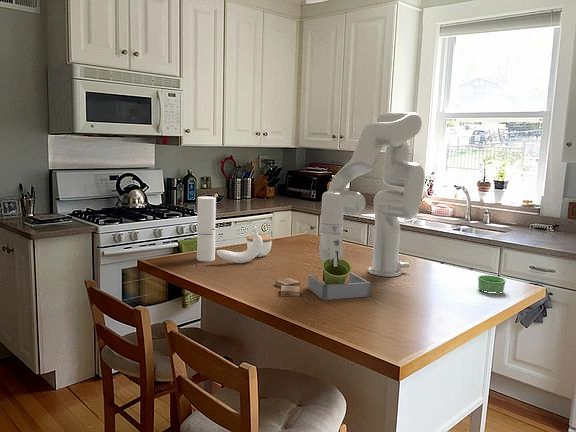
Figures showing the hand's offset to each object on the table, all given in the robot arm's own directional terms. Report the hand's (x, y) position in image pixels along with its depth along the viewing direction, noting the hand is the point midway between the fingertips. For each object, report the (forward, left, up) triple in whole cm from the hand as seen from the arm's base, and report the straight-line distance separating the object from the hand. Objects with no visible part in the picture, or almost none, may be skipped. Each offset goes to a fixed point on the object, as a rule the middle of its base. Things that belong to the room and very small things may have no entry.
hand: (327, 281), depth 177 cm
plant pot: (0, +4, -1) cm, 4 cm away
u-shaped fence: (-1, +6, -2) cm, 6 cm away
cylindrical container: (+33, -46, -2) cm, 57 cm away
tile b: (+15, +4, -2) cm, 16 cm away
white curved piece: (+21, -38, -2) cm, 43 cm away
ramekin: (-54, +17, -2) cm, 57 cm away
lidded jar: (+10, -49, -2) cm, 50 cm away
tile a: (+13, -4, -2) cm, 14 cm away
